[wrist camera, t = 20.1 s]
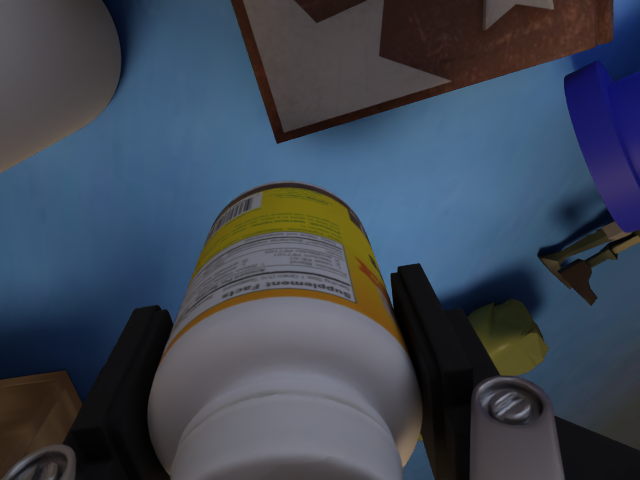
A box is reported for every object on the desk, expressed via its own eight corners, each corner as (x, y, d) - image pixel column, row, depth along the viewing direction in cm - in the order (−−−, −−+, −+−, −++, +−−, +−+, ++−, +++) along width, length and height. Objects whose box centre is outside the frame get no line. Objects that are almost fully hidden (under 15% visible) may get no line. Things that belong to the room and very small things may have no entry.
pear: (396, 396, 32) (517, 303, 31) (438, 470, 28) (580, 367, 27) (354, 368, 28) (490, 262, 27) (396, 449, 24) (558, 329, 23)
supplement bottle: (353, 323, 18) (417, 646, 9) (204, 309, 17) (107, 640, 8) (383, 184, 16) (512, 426, 7) (212, 162, 15) (90, 396, 6)
